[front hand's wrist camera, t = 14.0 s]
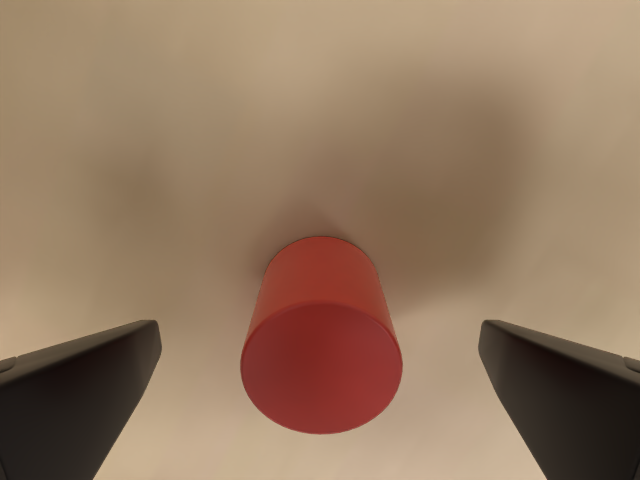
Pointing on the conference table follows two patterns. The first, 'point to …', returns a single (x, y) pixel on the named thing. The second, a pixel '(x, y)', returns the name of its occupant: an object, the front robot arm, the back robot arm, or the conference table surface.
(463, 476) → the conference table surface
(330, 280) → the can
